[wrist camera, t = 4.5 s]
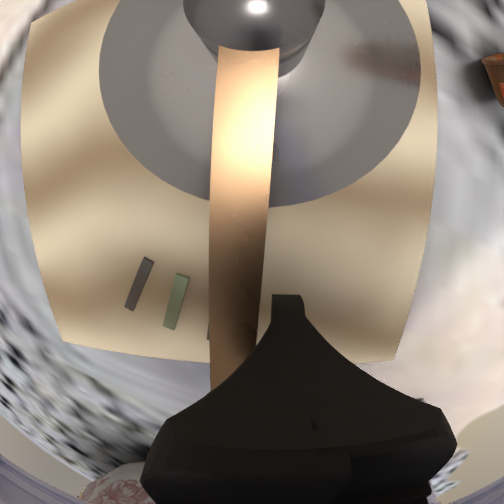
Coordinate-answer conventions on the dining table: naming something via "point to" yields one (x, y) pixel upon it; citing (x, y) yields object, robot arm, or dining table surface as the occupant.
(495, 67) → the tin
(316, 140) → the metal disc with handle
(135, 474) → the chamber pot
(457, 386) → the dining table surface
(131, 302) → the record player
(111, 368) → the dining table surface
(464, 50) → the dining table surface
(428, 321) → the dining table surface
